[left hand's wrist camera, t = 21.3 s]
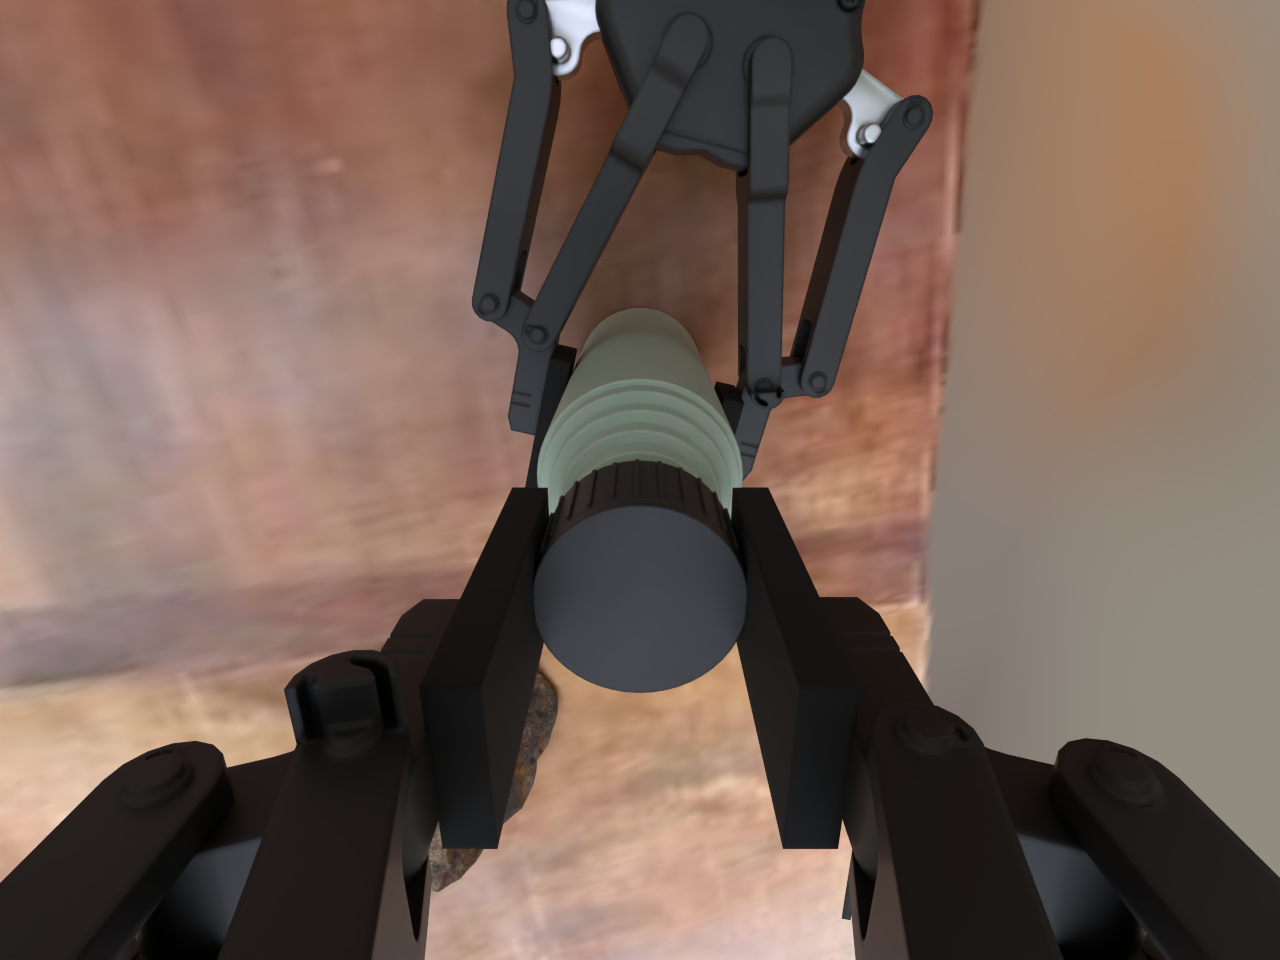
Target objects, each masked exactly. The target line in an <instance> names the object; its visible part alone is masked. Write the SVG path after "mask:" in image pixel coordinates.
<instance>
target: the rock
mask: <svg viewBox="0 0 1280 960" xmlns="http://www.w3.org/2000/svg"><path fill="white" fill-rule="evenodd" d="M557 703H558V698H557V696H556V694H555V692H554V691H553V689H552V688H551V686H550V684H549V683H548V682H547V681H546V680H545V679H544V677H543V676H542V674H540V673H539V672H537V675H536V679H535V684H534V688H533V693H532V697H531V702H530V706H529V710H528V715H527V719H526V724H525V728H524V733H523V737H522V742H521V746H520V750H519V755H518V759H517V764H516V768H515V773H514V777H513V782H512V786H511V790H510V795H509V799H508V804H507V808H506V813H505V817H504V822H503V824H504V823H505V822H506V821H507V820H508V819H509V818H511V817H512V816H513V815H514V814H515V813H517V812H518V811H519V810H520V809H522V807H523V805H524V803H525V801H526V799H527V797H528V794H529V792H530V790H531V788H532V786H533V783H534V779H535V774H536V768H537V760H538V758H539V757H540V755H541V754H542V752H543V751H544V749H545V748H546V747H547V745H548V742H549V739H550V735H551V732H552V729H553V726H554V724H555V721H556V716H557ZM482 851H483V849H442V842H441V835H440V828H439V821H438V824H437V827H436V830H435V833H434V836H433V839H432V842H431V845H430V848H429V851H428V855H429V862H430V868H431V875H432V883H431V891H435V892H439V891H440V890H442V889H444V888H445V887H447V886H448V885H449V884H451V883H453V882H455V881H457V880H459V879H461V877H462V876H463V875H464V874H465V872H466V871H467V870H468V869H469V868H470V867H471V866H472V865H473V864H474V863H475V862H476V860H477V859H478V857H479V856H480V854H481V853H482Z"/></svg>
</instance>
